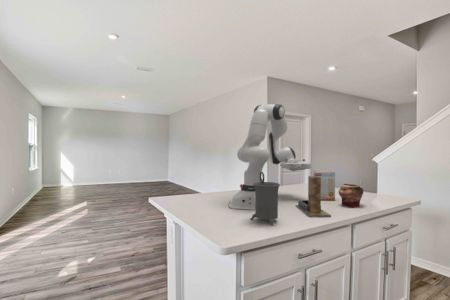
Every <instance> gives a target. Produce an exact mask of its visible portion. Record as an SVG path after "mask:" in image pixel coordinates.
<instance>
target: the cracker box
mask: <svg viewBox="0 0 450 300" xmlns="http://www.w3.org/2000/svg"><path fill="white" fill-rule="evenodd" d="M312 173H313V174H312V175H313V176H318V177H321V201H329V202H330V201H336V171H332V170H330V171H327V170H321V171H320V170H317V171H316V170H315V171H312Z"/></svg>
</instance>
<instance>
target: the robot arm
mask: <svg viewBox="0 0 450 300" xmlns="http://www.w3.org/2000/svg"><path fill="white" fill-rule="evenodd" d="M285 112H286V111H285V107H284V106H283V105H282V104H278V103H277V104H273V103H270V104H269V103H268V104H267V103H266V104H258V105H256V107H255V108H254V110H253V114H252V117H251V120H250V124H249V130H248V133H247V137H246V139H245V141H244V142H243V144H242V145H241V147H240V148H239V149H237V158H238V160H240V161H241V162H244V163H248V167H247V169H245V170H244V172H243V183H240V184H239V187H240V190H239V191H238V192H236V193H235V194H234V195H233V196H232V200H231V202H230V203H228V207H229V208H230V209H232V210H233V209H234V210H250V211H251V210H252V211H253V210H254V211H255V187H254V185H253V184H254V183H256V182H260V178H259V176H260V172H263V168H264V167H265V164H266V163H267V162H268V161H269V160H270V162H271V164H273V165H276V166H277V165H279V166H280V167H281V169H286V170H287V171H290V172H298V171H304V170H310V169H311V167H312V164H311V163H310V162H307V161H305V160H299V159H296V152H295V150H294V149H293V148H292V147H290V146H285V147H283V148H281V149H277V148H276V147H277V145H276V143H277V141H278V140H279V139H280V138H281V137H282V136H284V135H285V134H286V132H287V131H288V122H287V120H286V116H285V114H286V113H285ZM269 121H270V126H271V130H270V132H269V133H268V143H269V144H268V145H269V146H268V147H269V149H268V148H267V147H265V146H261V145H260V144H262V142H263V141H265V139H266V134H267V130H268V129H267V128H268V123H269Z"/></svg>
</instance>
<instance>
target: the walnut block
mask: <svg viewBox="0 0 450 300" xmlns="http://www.w3.org/2000/svg"><path fill="white" fill-rule="evenodd" d="M307 179H308V183H307V185H308V186H307V190H308V192H307V193H308V195H307V196H308V197H307V200H308V206H309V211H311V212H321V210H322V204H321V203H322V200H321V177H318V176H312V175H310V176H309V175H308V178H307Z"/></svg>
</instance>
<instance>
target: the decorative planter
mask: <svg viewBox="0 0 450 300" xmlns="http://www.w3.org/2000/svg"><path fill="white" fill-rule="evenodd" d="M338 194H339V196H340V198H341V205H342V206H344V207H348V208H358V207H360V204H361V200H362V198H363V194H364V188H362V187H361V185H359V184H358V185H357V184H349V183H343V184H342V185H341V186H340V189H339V190H338Z"/></svg>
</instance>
